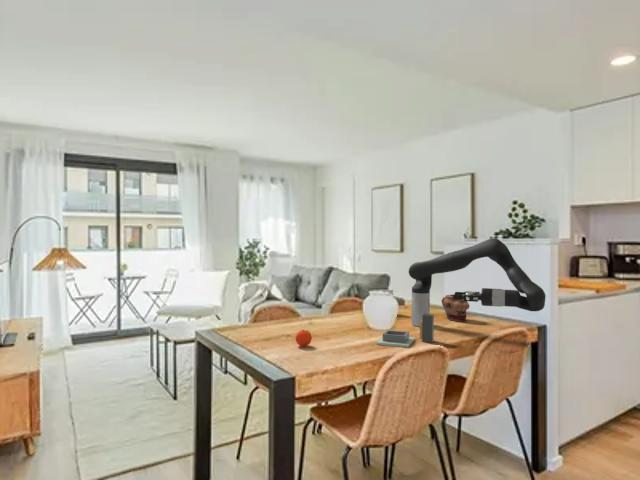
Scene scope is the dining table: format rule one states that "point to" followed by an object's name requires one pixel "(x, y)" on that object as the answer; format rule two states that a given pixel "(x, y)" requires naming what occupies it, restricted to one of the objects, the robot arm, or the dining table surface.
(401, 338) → the dock
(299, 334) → the red rounded piece
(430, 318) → the dark grey block
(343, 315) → the dining table surface
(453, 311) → the decorative planter
